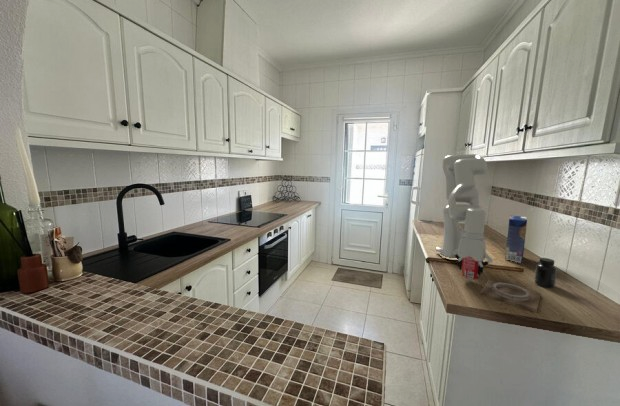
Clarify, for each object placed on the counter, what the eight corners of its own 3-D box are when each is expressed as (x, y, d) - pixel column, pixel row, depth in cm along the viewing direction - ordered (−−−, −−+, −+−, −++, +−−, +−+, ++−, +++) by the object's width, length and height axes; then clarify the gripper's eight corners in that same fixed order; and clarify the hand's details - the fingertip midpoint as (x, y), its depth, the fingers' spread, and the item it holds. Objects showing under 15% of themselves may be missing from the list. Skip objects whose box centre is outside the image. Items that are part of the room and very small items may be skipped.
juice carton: (522, 263, 137) (527, 220, 133) (505, 260, 142) (509, 219, 138) (522, 256, 146) (526, 216, 142) (506, 254, 151) (510, 215, 147)
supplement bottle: (548, 282, 116) (551, 257, 114) (558, 289, 109) (562, 263, 107) (530, 280, 118) (533, 256, 116) (539, 287, 111) (542, 262, 109)
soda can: (473, 273, 120) (475, 250, 118) (481, 281, 114) (484, 256, 111) (458, 273, 121) (460, 250, 119) (465, 280, 114) (467, 256, 112)
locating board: (479, 294, 106) (480, 288, 106) (489, 282, 117) (489, 276, 117) (536, 312, 93) (536, 305, 93) (540, 296, 104) (541, 290, 104)
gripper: (449, 233, 117) (447, 268, 121) (494, 241, 105) (490, 280, 108) (455, 229, 122) (452, 263, 126) (498, 237, 110) (494, 274, 113)
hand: (470, 270), depth 117 cm, fingers closed on soda can, 7 cm apart
